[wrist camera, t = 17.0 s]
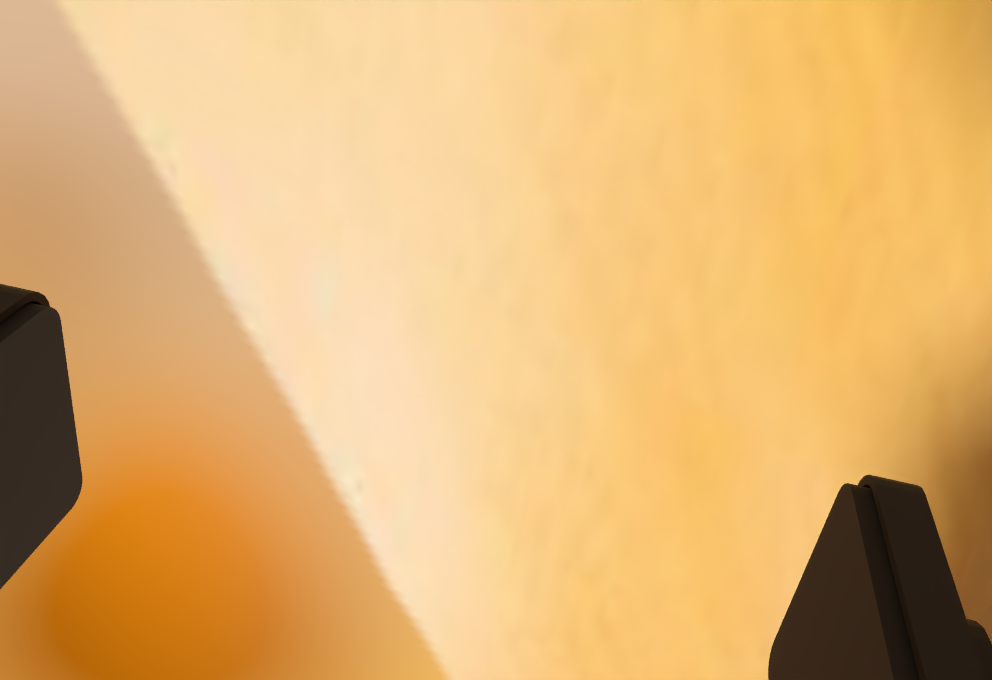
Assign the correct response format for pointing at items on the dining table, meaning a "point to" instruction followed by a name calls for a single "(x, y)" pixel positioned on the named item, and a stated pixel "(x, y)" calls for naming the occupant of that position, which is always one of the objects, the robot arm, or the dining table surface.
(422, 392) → the dining table surface
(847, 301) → the dining table surface
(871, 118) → the dining table surface
